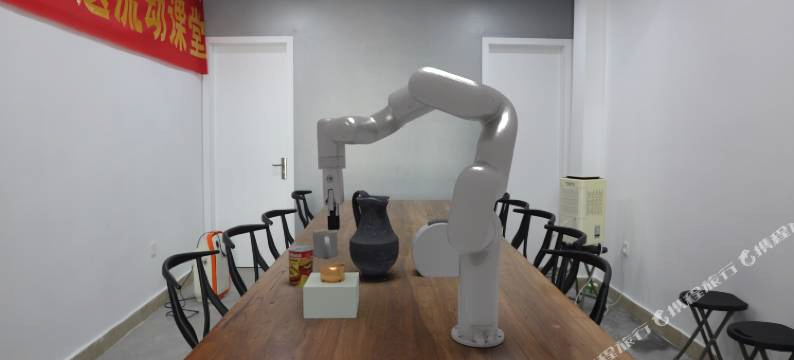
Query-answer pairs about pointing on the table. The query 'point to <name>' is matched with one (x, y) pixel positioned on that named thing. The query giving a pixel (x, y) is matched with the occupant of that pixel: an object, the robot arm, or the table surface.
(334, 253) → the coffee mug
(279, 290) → the table surface
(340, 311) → the hole block
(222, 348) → the table surface
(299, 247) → the canned food
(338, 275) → the pin
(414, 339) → the table surface
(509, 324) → the table surface
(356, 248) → the pitcher
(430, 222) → the alarm clock
